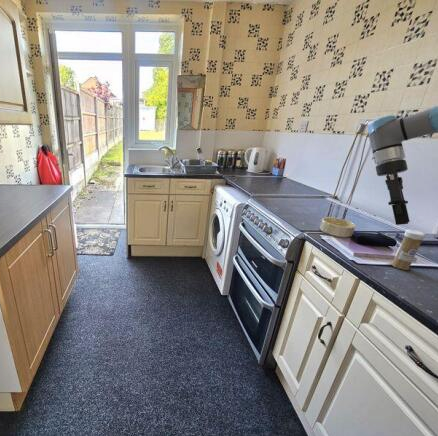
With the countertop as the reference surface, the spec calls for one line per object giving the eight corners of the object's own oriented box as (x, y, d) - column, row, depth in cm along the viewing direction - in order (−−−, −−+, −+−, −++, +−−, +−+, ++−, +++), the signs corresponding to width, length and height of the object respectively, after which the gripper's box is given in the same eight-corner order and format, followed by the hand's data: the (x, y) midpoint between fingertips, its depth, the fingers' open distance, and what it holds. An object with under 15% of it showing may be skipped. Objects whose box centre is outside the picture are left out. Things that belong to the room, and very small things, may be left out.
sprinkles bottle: (400, 270, 83) (417, 234, 78) (387, 263, 87) (402, 229, 82) (412, 270, 83) (430, 234, 79) (398, 263, 88) (414, 228, 83)
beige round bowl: (348, 230, 115) (352, 220, 113) (354, 240, 105) (358, 229, 103) (317, 225, 120) (320, 215, 118) (321, 234, 110) (324, 224, 108)
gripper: (379, 169, 95) (390, 223, 93) (370, 161, 79) (384, 226, 77) (407, 163, 90) (419, 220, 88) (403, 153, 73) (419, 223, 71)
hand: (403, 223), depth 82 cm, fingers open, 13 cm apart
